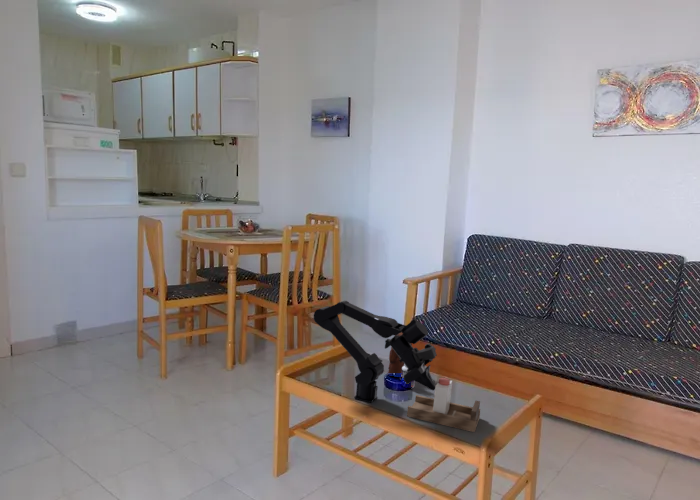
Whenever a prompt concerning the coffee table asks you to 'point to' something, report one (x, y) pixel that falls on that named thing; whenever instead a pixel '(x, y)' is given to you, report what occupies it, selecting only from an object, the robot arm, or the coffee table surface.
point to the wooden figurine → (395, 361)
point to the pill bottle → (404, 371)
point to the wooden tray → (454, 418)
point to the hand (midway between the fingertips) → (434, 389)
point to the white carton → (442, 396)
